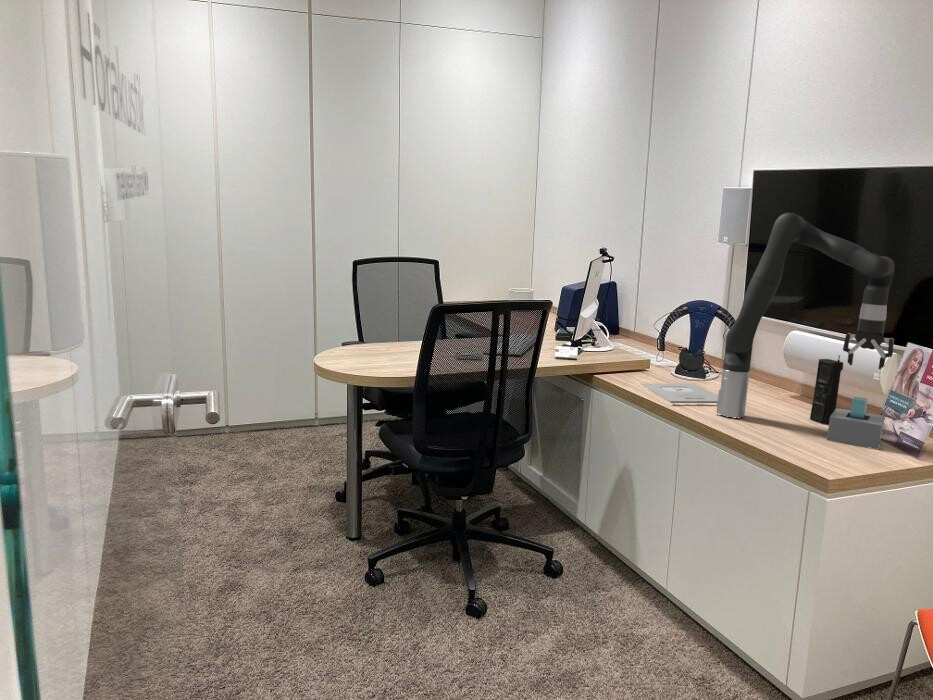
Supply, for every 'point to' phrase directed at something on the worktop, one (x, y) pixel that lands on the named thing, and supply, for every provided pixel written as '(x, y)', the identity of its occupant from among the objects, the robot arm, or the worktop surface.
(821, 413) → the portable radio
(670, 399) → the award plaque
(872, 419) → the block
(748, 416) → the worktop surface
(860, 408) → the teal rectangular block
